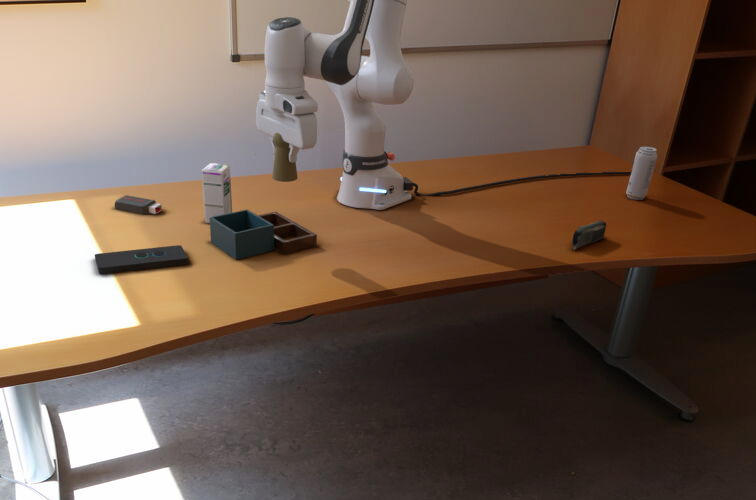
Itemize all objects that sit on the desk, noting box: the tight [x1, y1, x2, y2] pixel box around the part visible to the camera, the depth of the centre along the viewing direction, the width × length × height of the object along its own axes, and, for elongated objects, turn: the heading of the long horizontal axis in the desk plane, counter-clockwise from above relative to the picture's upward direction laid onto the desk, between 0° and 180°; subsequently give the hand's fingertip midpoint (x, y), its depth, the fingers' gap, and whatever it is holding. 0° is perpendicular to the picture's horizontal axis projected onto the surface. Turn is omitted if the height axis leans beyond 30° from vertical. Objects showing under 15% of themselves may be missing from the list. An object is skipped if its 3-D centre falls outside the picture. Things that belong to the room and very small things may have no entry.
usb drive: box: [114, 194, 163, 215], centre depth 200 cm, size 5×12×3 cm, turn 70°
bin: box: [209, 209, 275, 260], centre depth 181 cm, size 11×12×7 cm
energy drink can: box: [625, 146, 658, 201], centre depth 225 cm, size 6×6×15 cm
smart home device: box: [94, 244, 189, 275], centre depth 172 cm, size 8×2×20 cm
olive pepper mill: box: [272, 133, 299, 183], centre depth 174 cm, size 6×6×11 cm
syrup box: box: [200, 162, 233, 224], centre depth 193 cm, size 6×6×14 cm
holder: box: [258, 211, 318, 255], centre depth 188 cm, size 10×19×3 cm, turn 38°
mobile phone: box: [571, 220, 607, 251], centre depth 194 cm, size 5×3×15 cm
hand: (285, 158), depth 174 cm, fingers closed on olive pepper mill, 4 cm apart
